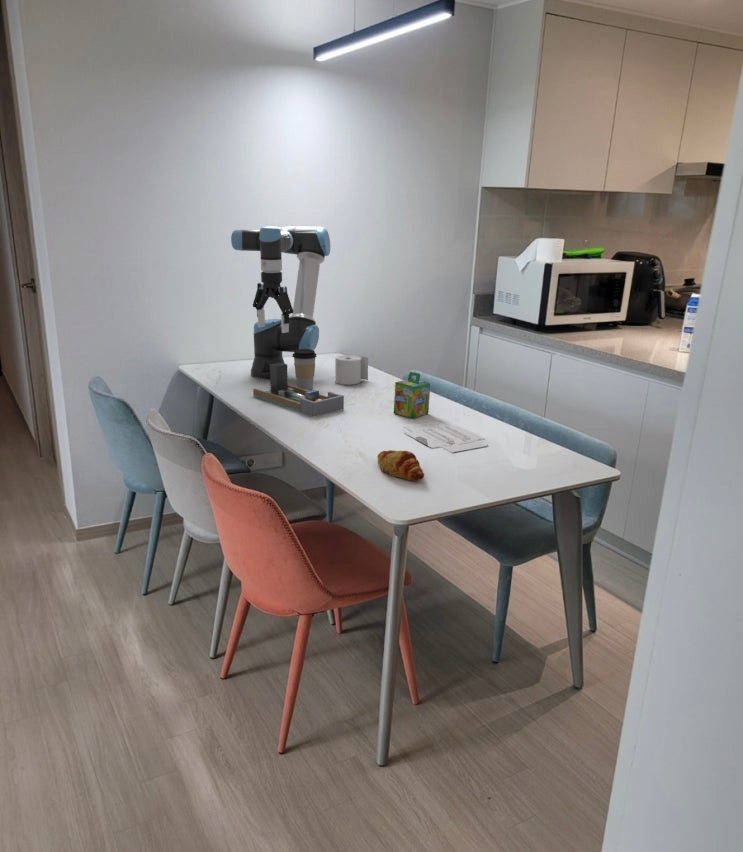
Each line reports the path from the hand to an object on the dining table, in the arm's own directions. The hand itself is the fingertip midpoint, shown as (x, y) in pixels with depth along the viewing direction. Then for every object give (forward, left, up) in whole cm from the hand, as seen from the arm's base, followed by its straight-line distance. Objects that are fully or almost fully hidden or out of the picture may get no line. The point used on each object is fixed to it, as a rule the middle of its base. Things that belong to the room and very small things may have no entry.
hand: (273, 329), depth 263 cm
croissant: (+23, +86, -26) cm, 92 cm away
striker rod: (0, +12, -24) cm, 27 cm away
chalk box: (-21, +51, -25) cm, 61 cm away
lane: (0, +10, -25) cm, 27 cm away
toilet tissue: (-36, +3, -25) cm, 44 cm away
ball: (0, +26, -23) cm, 35 cm away
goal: (0, +27, -25) cm, 37 cm away
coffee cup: (-15, 0, -25) cm, 29 cm away
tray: (-10, +75, -26) cm, 80 cm away
